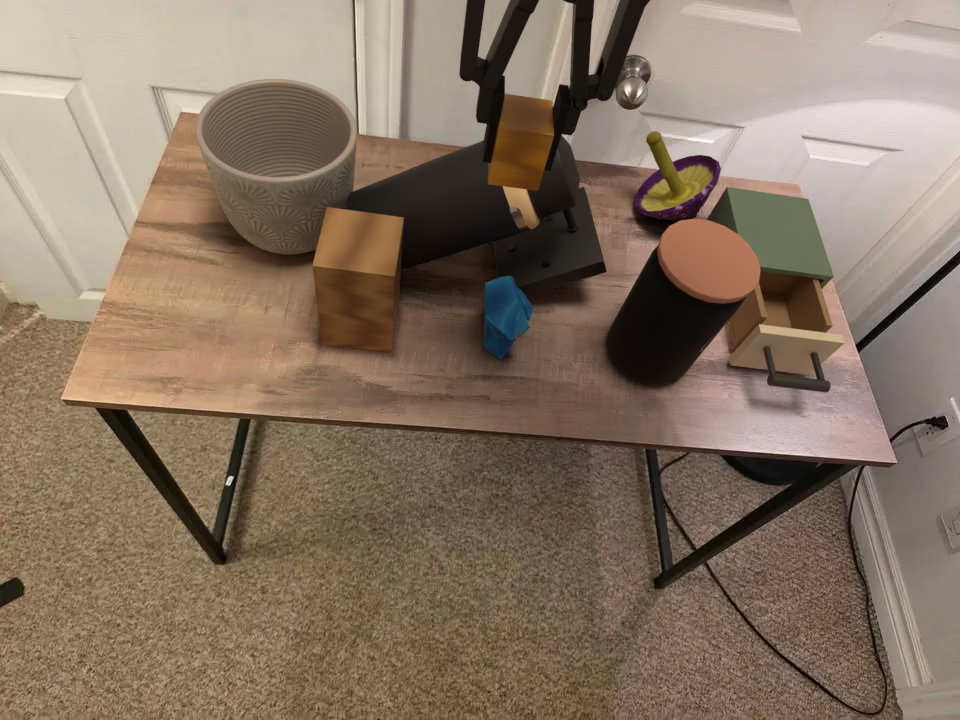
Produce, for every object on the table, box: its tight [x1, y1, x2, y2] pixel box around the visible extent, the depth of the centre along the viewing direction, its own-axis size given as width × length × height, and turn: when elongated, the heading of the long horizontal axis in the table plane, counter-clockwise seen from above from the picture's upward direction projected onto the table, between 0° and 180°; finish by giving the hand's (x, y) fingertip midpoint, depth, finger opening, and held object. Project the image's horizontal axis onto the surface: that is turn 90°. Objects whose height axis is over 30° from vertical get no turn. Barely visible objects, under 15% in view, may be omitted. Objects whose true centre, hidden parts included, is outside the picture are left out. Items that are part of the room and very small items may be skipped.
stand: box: [312, 207, 404, 353], centre depth 70 cm, size 8×8×14 cm
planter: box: [194, 78, 358, 255], centre depth 75 cm, size 17×17×15 cm
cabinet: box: [706, 186, 835, 290], centre depth 85 cm, size 14×12×9 cm
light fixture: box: [347, 134, 607, 297], centre depth 76 cm, size 13×18×26 cm
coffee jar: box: [607, 218, 761, 386], centre depth 72 cm, size 11×11×18 cm
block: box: [488, 93, 554, 191], centre depth 54 cm, size 4×4×6 cm
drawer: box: [728, 271, 846, 393], centre depth 78 cm, size 18×10×7 cm, turn 177°
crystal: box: [482, 276, 535, 361], centre depth 73 cm, size 7×9×12 cm
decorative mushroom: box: [633, 130, 722, 221], centre depth 89 cm, size 12×12×15 cm
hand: (516, 155), depth 55 cm, fingers closed on block, 4 cm apart
